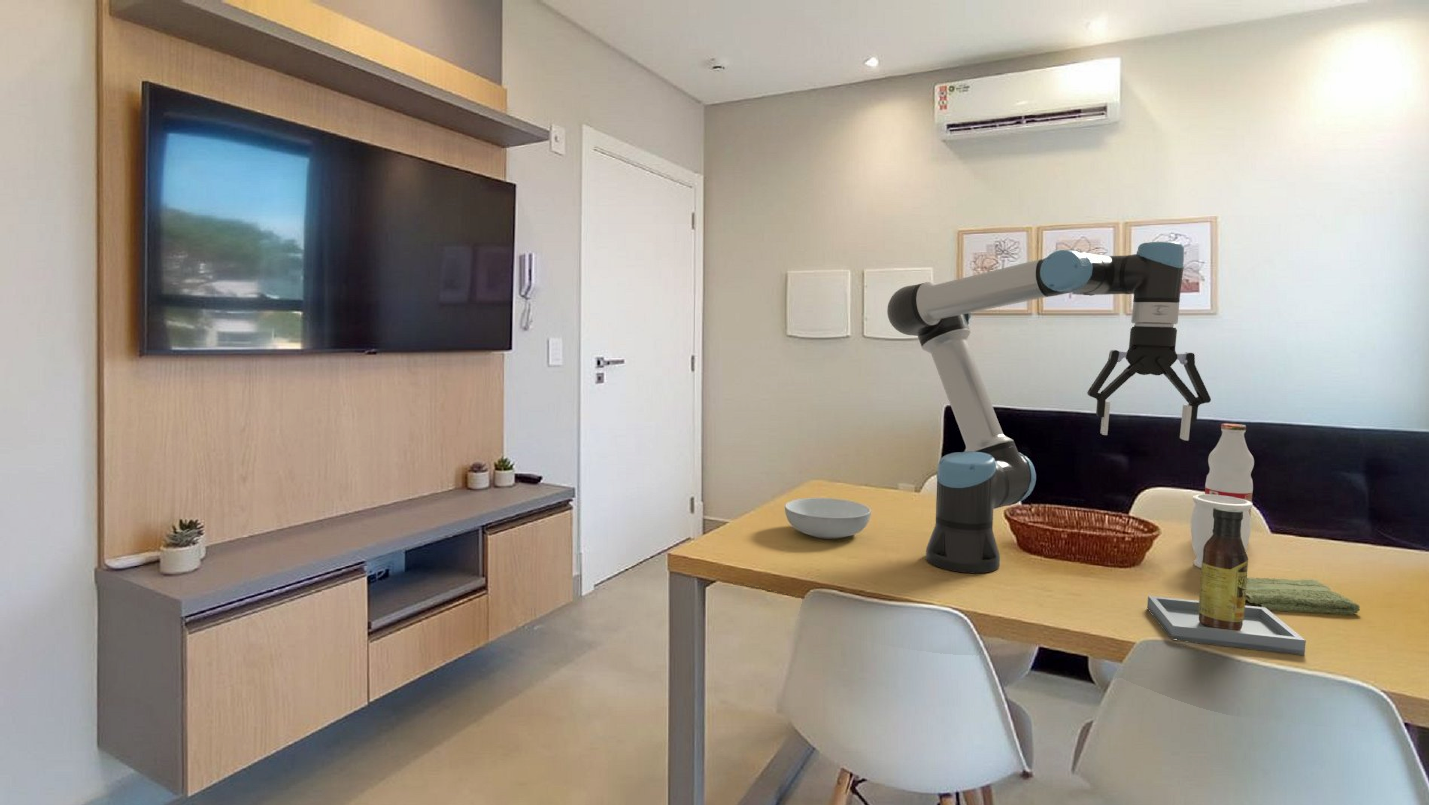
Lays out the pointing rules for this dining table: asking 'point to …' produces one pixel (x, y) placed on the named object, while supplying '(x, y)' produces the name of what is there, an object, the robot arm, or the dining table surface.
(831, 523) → the serving bowl
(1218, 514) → the sauce bottle
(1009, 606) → the dining table surface
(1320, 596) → the washcloth
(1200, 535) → the jar
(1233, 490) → the fruit juice
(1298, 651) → the tray
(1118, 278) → the robot arm
